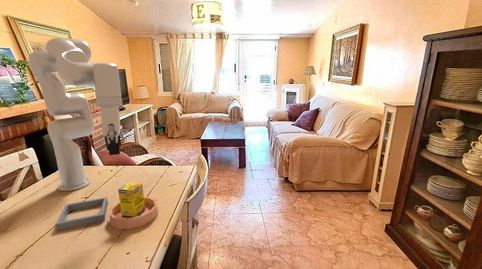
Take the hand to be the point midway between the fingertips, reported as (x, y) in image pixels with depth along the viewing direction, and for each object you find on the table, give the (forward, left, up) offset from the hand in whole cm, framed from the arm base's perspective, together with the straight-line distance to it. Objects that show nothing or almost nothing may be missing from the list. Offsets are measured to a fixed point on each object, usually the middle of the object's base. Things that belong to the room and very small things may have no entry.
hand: (115, 150), depth 87 cm
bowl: (+4, +4, -24) cm, 25 cm away
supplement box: (+4, +3, -24) cm, 24 cm away
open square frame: (-4, -13, -24) cm, 28 cm away
